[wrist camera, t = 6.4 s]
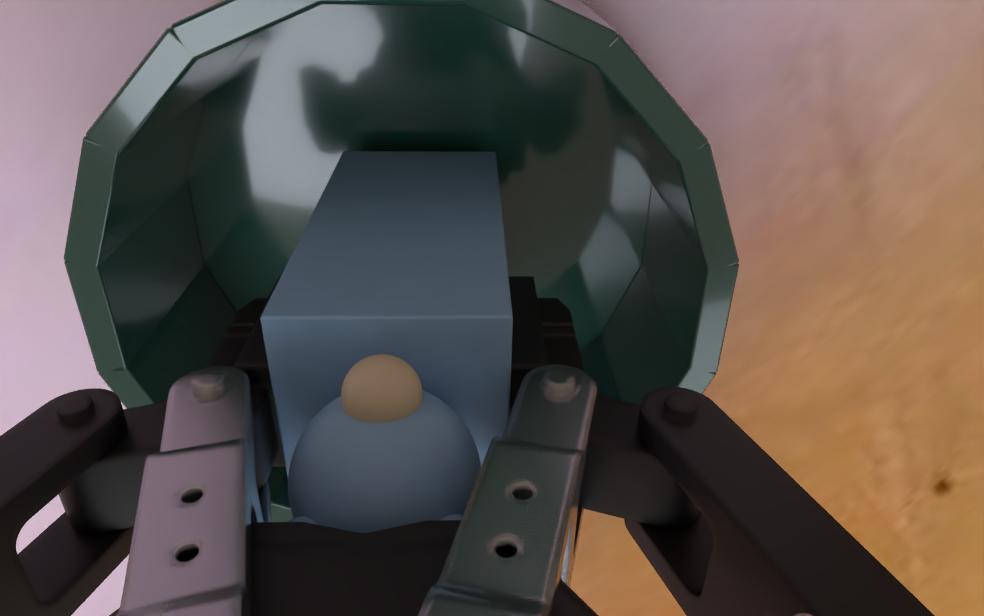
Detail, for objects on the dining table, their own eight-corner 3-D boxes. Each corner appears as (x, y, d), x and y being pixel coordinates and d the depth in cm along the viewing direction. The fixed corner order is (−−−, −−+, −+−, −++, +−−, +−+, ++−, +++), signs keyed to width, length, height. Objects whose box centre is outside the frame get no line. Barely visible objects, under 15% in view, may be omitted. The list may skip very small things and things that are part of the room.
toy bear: (342, 150, 19) (190, 450, 9) (495, 151, 19) (526, 448, 9) (356, 298, 21) (248, 678, 11) (493, 297, 21) (516, 673, 11)
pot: (119, -60, 18) (-31, -45, 12) (705, -50, 18) (801, -31, 13) (219, 413, 25) (150, 550, 19) (638, 412, 25) (682, 547, 20)
